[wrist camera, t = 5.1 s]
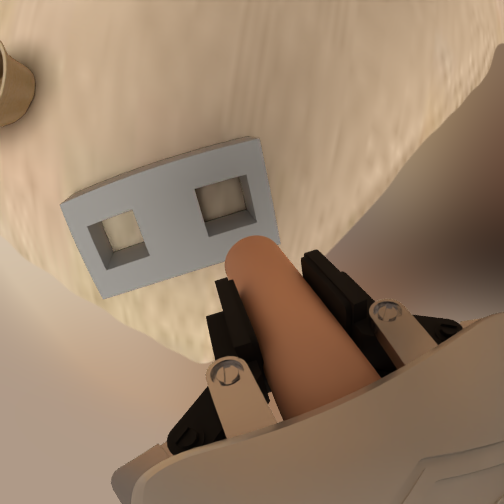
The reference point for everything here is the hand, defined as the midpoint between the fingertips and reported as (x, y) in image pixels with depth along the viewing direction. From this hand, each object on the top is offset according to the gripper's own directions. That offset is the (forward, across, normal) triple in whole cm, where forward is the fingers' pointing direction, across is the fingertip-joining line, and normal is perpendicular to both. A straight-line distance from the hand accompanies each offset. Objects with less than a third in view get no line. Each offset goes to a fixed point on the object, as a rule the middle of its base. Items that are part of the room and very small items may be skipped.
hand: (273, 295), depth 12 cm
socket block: (+18, +5, 0) cm, 19 cm away
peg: (+3, 0, 0) cm, 3 cm away
